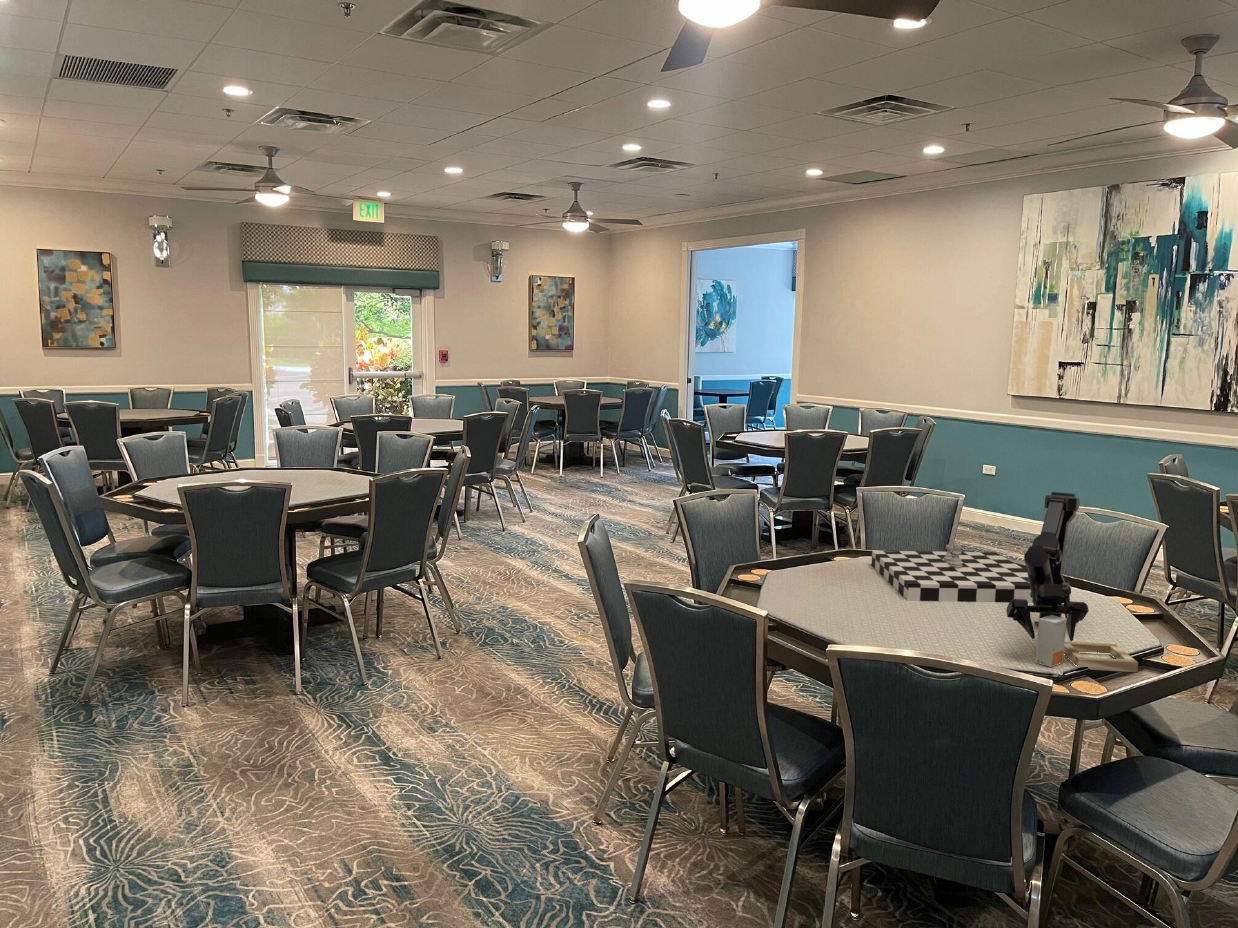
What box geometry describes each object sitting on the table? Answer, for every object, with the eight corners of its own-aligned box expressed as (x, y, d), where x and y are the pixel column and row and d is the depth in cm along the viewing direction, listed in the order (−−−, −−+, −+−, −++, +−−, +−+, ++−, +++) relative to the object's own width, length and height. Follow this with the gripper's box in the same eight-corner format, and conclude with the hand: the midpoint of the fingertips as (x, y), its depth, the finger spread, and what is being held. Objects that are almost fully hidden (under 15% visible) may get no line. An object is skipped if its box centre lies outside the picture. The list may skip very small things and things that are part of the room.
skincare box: (1050, 668, 228) (1054, 622, 227) (1034, 663, 232) (1038, 618, 230) (1063, 663, 232) (1067, 618, 230) (1047, 658, 235) (1050, 614, 234)
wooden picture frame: (1058, 650, 242) (1059, 641, 242) (1114, 652, 240) (1115, 643, 240) (1078, 668, 228) (1079, 659, 228) (1137, 672, 226) (1138, 662, 226)
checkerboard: (1050, 604, 286) (1054, 558, 284) (907, 602, 286) (910, 556, 284) (995, 568, 330) (998, 528, 328) (871, 566, 331) (873, 526, 329)
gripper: (1012, 568, 234) (1022, 622, 225) (1089, 571, 231) (1102, 626, 222) (1001, 589, 243) (1011, 642, 233) (1075, 593, 240) (1087, 646, 231)
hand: (1052, 639), depth 230 cm, fingers open, 9 cm apart
